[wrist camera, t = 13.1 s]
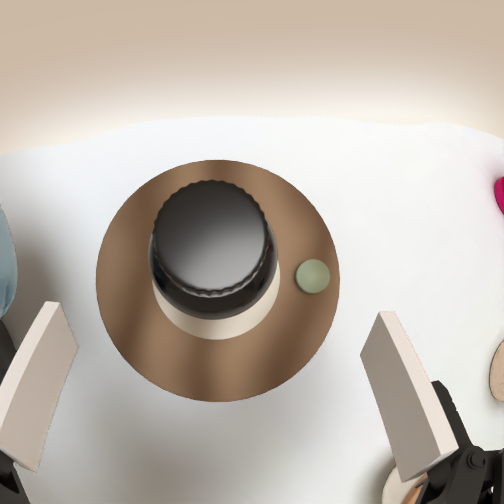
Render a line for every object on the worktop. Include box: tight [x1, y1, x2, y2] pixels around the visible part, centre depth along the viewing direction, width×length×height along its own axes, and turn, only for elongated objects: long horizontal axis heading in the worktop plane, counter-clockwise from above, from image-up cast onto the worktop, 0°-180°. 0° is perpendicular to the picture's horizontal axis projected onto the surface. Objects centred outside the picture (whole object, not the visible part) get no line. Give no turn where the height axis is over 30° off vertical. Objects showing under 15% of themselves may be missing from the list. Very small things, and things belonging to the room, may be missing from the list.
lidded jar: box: [382, 465, 428, 504], centre depth 19 cm, size 11×11×9 cm
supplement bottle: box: [148, 179, 278, 320], centre depth 18 cm, size 7×7×12 cm
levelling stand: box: [96, 160, 340, 402], centre depth 25 cm, size 20×20×4 cm
